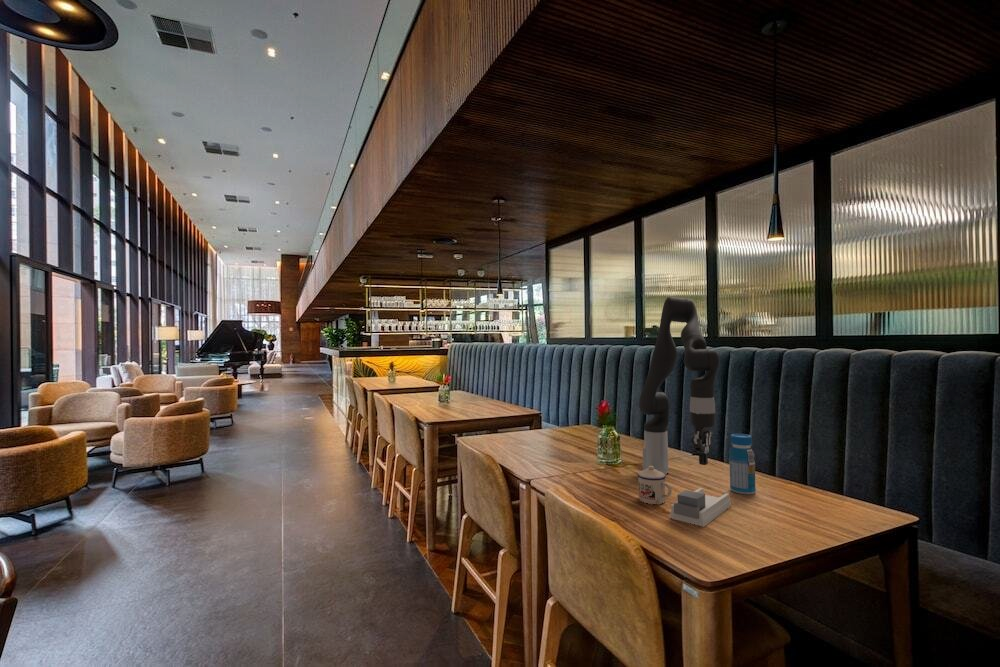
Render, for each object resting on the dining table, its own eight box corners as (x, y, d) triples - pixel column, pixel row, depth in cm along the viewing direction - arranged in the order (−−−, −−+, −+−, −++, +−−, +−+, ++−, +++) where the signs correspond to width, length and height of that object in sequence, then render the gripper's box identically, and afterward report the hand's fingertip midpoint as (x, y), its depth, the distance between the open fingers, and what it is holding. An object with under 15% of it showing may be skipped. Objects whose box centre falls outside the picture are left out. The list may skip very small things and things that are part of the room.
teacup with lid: (632, 499, 156) (631, 465, 156) (648, 494, 162) (648, 461, 162) (663, 509, 146) (662, 473, 147) (679, 503, 152) (678, 468, 152)
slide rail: (669, 518, 139) (669, 502, 139) (699, 499, 155) (699, 484, 156) (703, 527, 132) (702, 510, 132) (730, 506, 148) (730, 490, 149)
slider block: (677, 511, 139) (677, 494, 139) (685, 505, 143) (685, 489, 143) (697, 516, 134) (697, 498, 134) (705, 510, 139) (705, 494, 139)
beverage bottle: (733, 494, 160) (731, 437, 161) (727, 486, 168) (725, 432, 169) (759, 495, 158) (757, 438, 159) (752, 488, 166) (750, 433, 167)
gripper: (698, 407, 154) (699, 458, 154) (682, 412, 145) (683, 466, 145) (721, 409, 149) (722, 462, 149) (706, 414, 140) (707, 471, 139)
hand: (703, 464), depth 147 cm, fingers closed
